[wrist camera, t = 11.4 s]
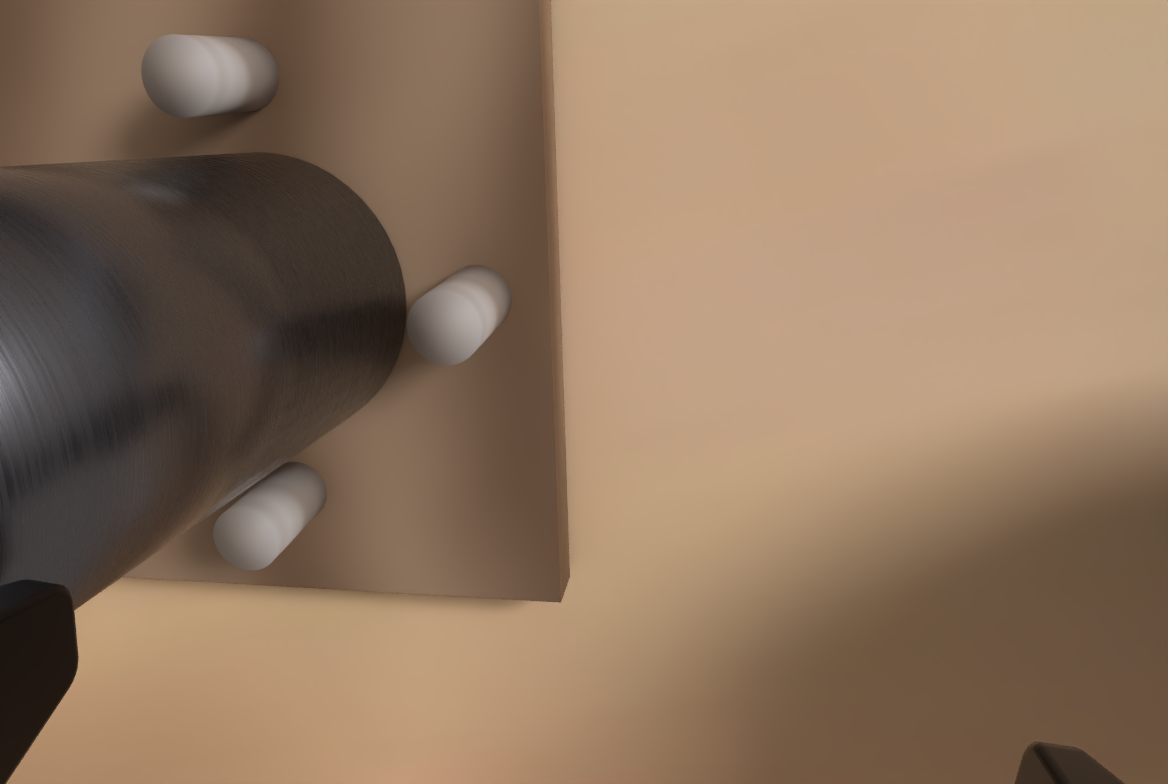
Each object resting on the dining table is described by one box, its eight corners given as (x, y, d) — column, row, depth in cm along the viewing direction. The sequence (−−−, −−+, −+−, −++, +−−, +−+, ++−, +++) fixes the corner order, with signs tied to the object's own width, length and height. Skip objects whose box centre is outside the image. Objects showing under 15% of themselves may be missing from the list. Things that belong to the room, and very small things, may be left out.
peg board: (548, -70, 19) (504, -99, 16) (569, 576, 24) (539, 665, 20) (-8, -43, 21) (-157, -64, 18) (107, 551, 25) (6, 629, 22)
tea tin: (336, 103, 20) (-389, 70, 7) (453, 385, 21) (-8, 769, 8) (93, 211, 21) (-846, 333, 9) (213, 469, 22) (-471, 896, 10)
